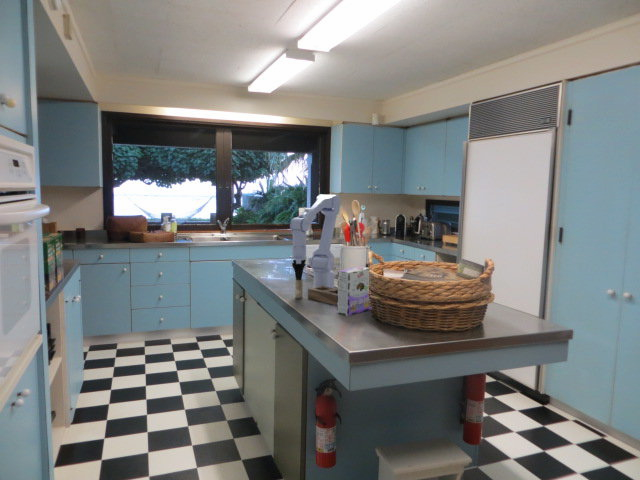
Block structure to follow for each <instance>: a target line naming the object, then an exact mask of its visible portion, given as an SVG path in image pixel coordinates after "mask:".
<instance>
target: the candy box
mask: <svg viewBox="0 0 640 480" xmlns="http://www.w3.org/2000/svg"><path fill="white" fill-rule="evenodd" d="M369 268H370V267H365V266H358V267H351V268H346V269H340V270H338V271H337V289H338V298H337V305H336V306H337V309H336V311H337V312H336V313H337V314H340V315H343V316H347V317H348V316H349V317H350V316H352V315H355V314H359V313H362V312H366V311H370V310H371V309H370V306H369V295H368V293H369V287H368V286H369Z"/></svg>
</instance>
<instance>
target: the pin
mask: <svg viewBox="0 0 640 480" xmlns="http://www.w3.org/2000/svg"><path fill="white" fill-rule="evenodd" d="M303 281H304V280H303V278H302V279H301V280H296V279H295V287H294V288H295V289H294V290H295V295H294V296H295V297H294V298H295V299H303V289H304V288H303V287H304V286H303V284H304V283H303Z"/></svg>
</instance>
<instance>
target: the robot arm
mask: <svg viewBox="0 0 640 480" xmlns="http://www.w3.org/2000/svg"><path fill="white" fill-rule="evenodd" d="M341 204H342V201H341V197H340V196H339V194H322V193H320V194H318V195H317V196H316V199H315V202H314V203H313V204H312V206H311V207H307V208H304V210H303V211H302V212H301V213H300V214H299V215H298V216H297V217H293V218H292V219H291V221H290V223H289V228H290V233H291V235H292V255H290V256H289V259H292V263H291V265H292V268H293V270H294V276H295V277H294V278H295V281H296V280H301V279H303V278H302V277H303V273H304V269H305V266H306V261H307V232H308V231H309V229H310V227H311V223H312V222H313V221H314V220H316V218H317V214H319V212H321V214H322V215H324V220H323V226H322V231H321V235H320V240H319V245H318V249H316V250H315V251H313V253H312V256H311V258H310V260H309V265H310V268H311V269H312V271H313V288H315V287H319V286H326V287H330V288H335V289H337V288H336V287H335V273H334V271H333V268H334V265H335V262H334V261H335V260H334V259H335V255H334V254H333V253H332V252H331V245H332V241H333V235H334V231H335V226H336V221H337V217H338V216H337V215H339V214H340V210H341V209H340V208H341Z"/></svg>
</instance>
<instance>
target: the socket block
mask: <svg viewBox="0 0 640 480" xmlns="http://www.w3.org/2000/svg"><path fill="white" fill-rule="evenodd" d="M335 288H336V287H334V288H330V287H326V286H319V287H315V288H314V287H310V288H308V289H307V298H308V299H310V300H314V301H318V302H322V303H326V304H330V305H334V306H337V298H338V288H336V289H335Z"/></svg>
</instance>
